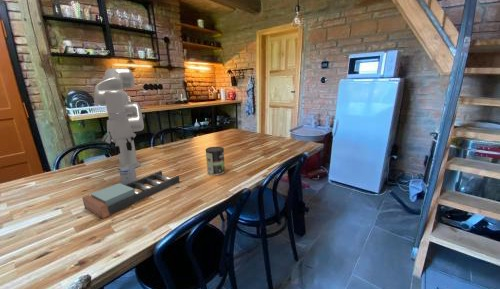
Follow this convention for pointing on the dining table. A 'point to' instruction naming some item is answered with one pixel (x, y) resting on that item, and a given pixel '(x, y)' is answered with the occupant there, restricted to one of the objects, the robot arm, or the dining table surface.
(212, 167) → the coffee can
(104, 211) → the roller track
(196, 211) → the dining table surface
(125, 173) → the medicine box
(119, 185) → the slab
